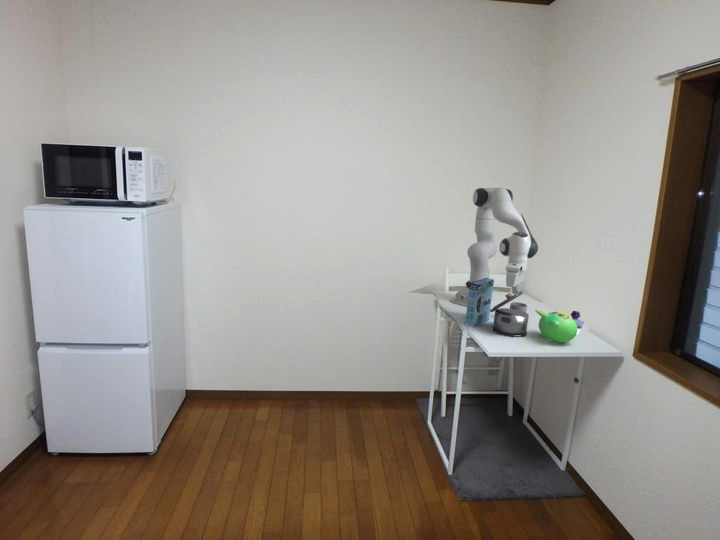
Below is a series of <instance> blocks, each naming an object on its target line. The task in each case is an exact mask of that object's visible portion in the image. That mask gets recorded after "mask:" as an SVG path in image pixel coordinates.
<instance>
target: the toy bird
mask: <svg viewBox="0 0 720 540" xmlns="http://www.w3.org/2000/svg"><path fill="white" fill-rule="evenodd" d="M534 311H535V312H536V313H537V314H538V315H539V317H540V319H539V321H538V329H539V332H540V333H541V335H543V337H545V338H546V339H548V340H549V341H552V342H555V343H567V342H570V341H572V340H574V338H575V337H576V334H577V331H578V329H577V325H576V323H575V321H574V320H573V319H572V316H571V315H568V314H567V311H551V312H548V313H547V312H545V311H542V310H538V309H535V310H534Z"/></svg>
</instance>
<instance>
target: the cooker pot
mask: <svg viewBox="0 0 720 540" xmlns="http://www.w3.org/2000/svg"><path fill="white" fill-rule="evenodd" d="M529 316H530V315H529V313H527V311H526V312H523V311H520V310H516V309H510V307H508V308H507V307H506V308H505V307H503V308H501V307H500V308H498V309H496V310H495V311H494V317H493V325H492V332H494V333H495V334H497V333H498V334H497V335H499V334H500V335H499V336H502V335H504V336H503V337H507V336H508V337H509V338H514V337H517V338H518V337H521V338H525V337H526V336H528V335H527V334H528V332H527V330H528V325H529V324H528V323H529ZM508 337H507V338H508Z"/></svg>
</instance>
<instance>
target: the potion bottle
mask: <svg viewBox="0 0 720 540" xmlns="http://www.w3.org/2000/svg"><path fill="white" fill-rule="evenodd" d="M570 317H571V318H572V319H573V320H574V321H575V323H576V325H577V329H578V331H577V334H576V335H578V336H579V333H580V331H581V329H582V327H583V325H584V321H583V320H581V319H579V318H580V317H581V314H580V311H577V310H572V312H570Z"/></svg>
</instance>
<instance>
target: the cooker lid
mask: <svg viewBox="0 0 720 540" xmlns="http://www.w3.org/2000/svg"><path fill="white" fill-rule="evenodd" d="M512 294H513V293H512V292H508V293H507V294H505V296H504V297H505V298H506V299H505V300H503V301H501V302H500V303H497V304H496V305H495V306H493V307H492V308H490V313H495V310H496V309H500V308H501V307H504V306H505V305H506V304H508V303H509V302H510V303H511V301H512V302H513V300H515V299H517V298H519V297H520V296H521V295H523V294H524V292H523V290H520V291H517V293H516V294H513V295H512Z"/></svg>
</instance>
